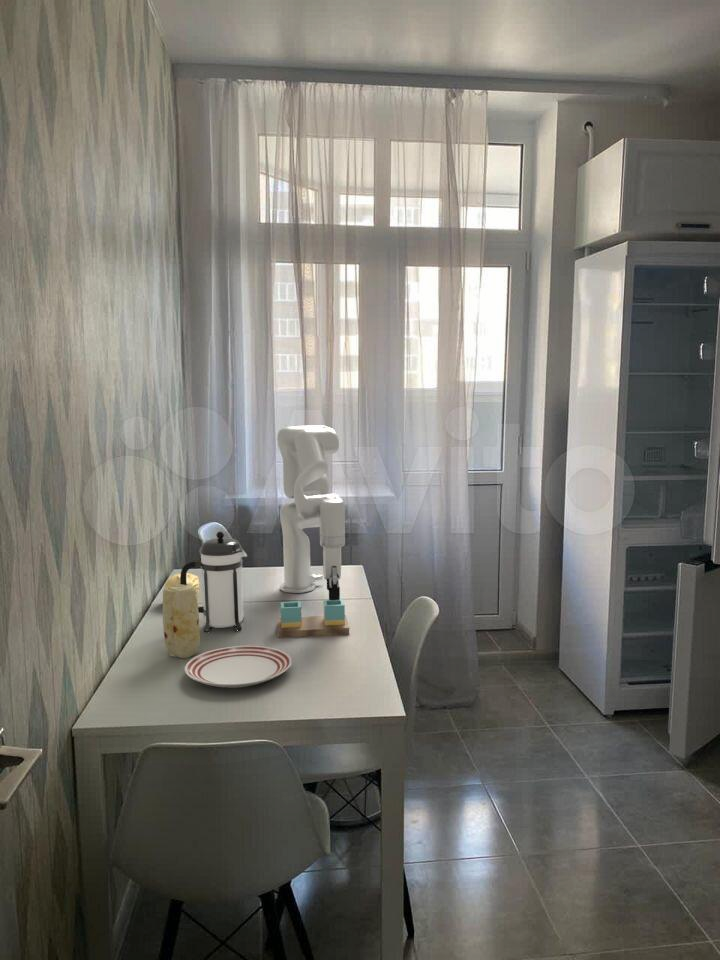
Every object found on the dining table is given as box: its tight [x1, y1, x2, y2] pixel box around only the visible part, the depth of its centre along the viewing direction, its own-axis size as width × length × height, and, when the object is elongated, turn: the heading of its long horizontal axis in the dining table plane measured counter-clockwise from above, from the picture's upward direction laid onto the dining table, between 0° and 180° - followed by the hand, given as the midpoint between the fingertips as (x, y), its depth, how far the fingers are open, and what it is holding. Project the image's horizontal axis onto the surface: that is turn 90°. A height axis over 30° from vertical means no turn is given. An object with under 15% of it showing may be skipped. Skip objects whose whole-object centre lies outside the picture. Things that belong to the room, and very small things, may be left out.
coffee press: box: [180, 531, 248, 634], centre depth 228 cm, size 17×16×30 cm
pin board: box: [277, 614, 350, 639], centre depth 227 cm, size 21×12×7 cm, turn 96°
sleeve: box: [323, 598, 346, 625], centre depth 227 cm, size 6×6×6 cm
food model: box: [162, 584, 201, 659], centre depth 206 cm, size 10×7×20 cm
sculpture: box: [163, 572, 201, 599], centre depth 254 cm, size 11×12×11 cm
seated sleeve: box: [280, 600, 302, 628], centre depth 226 cm, size 6×6×6 cm
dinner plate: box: [184, 645, 292, 689], centre depth 194 cm, size 27×27×3 cm
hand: (333, 594), depth 227 cm, fingers open, 9 cm apart
